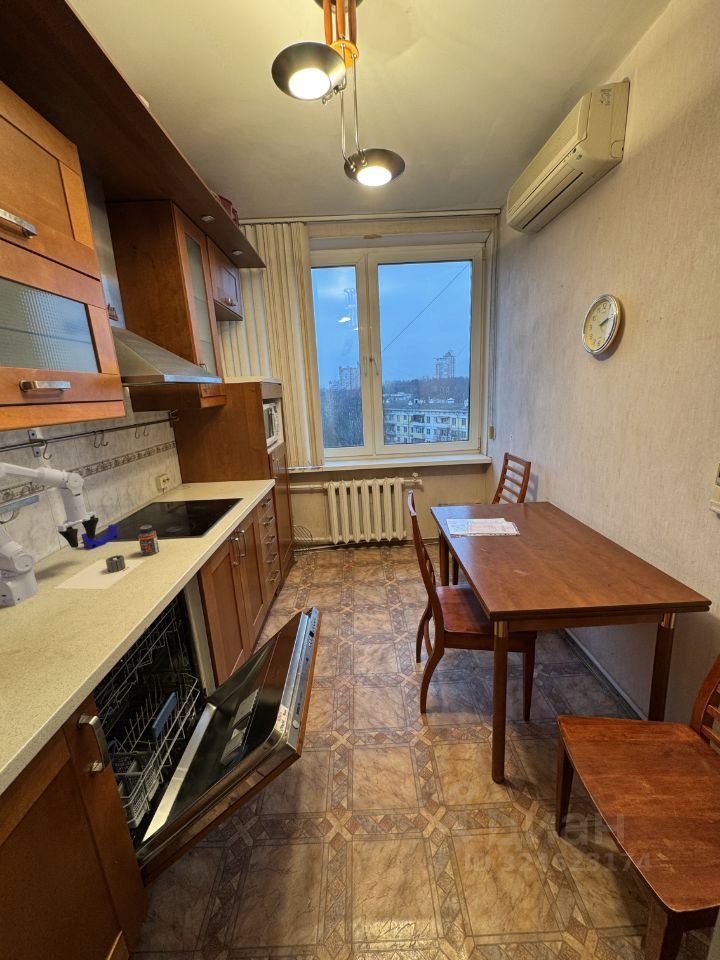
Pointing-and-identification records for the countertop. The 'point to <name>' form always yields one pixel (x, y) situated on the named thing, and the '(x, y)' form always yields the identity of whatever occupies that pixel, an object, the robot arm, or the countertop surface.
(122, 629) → the countertop surface
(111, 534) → the blue curved bracket
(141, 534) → the supplement bottle
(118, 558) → the grey grooved ring
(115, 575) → the socket plate
